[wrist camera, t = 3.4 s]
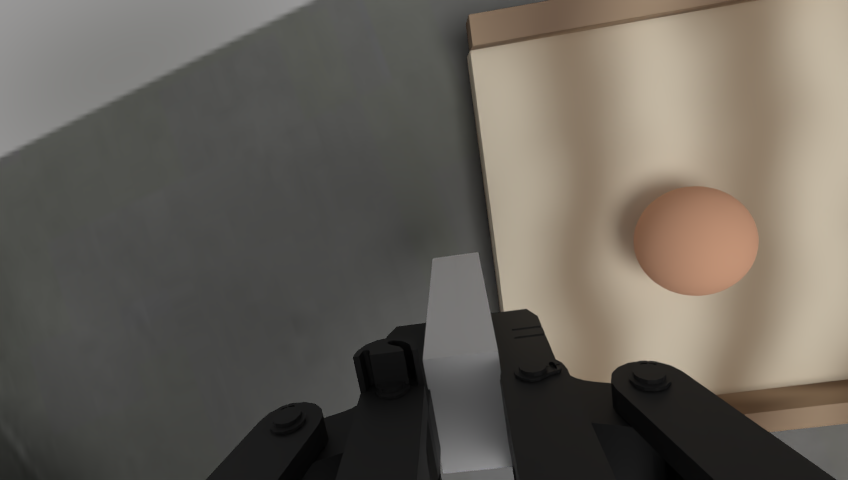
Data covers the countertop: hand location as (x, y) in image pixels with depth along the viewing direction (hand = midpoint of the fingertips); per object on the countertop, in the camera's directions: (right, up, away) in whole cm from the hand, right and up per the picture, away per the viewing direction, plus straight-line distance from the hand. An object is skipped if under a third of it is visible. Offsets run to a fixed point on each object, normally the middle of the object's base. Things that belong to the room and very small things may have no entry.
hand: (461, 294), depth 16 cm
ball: (+9, +2, +2) cm, 9 cm away
